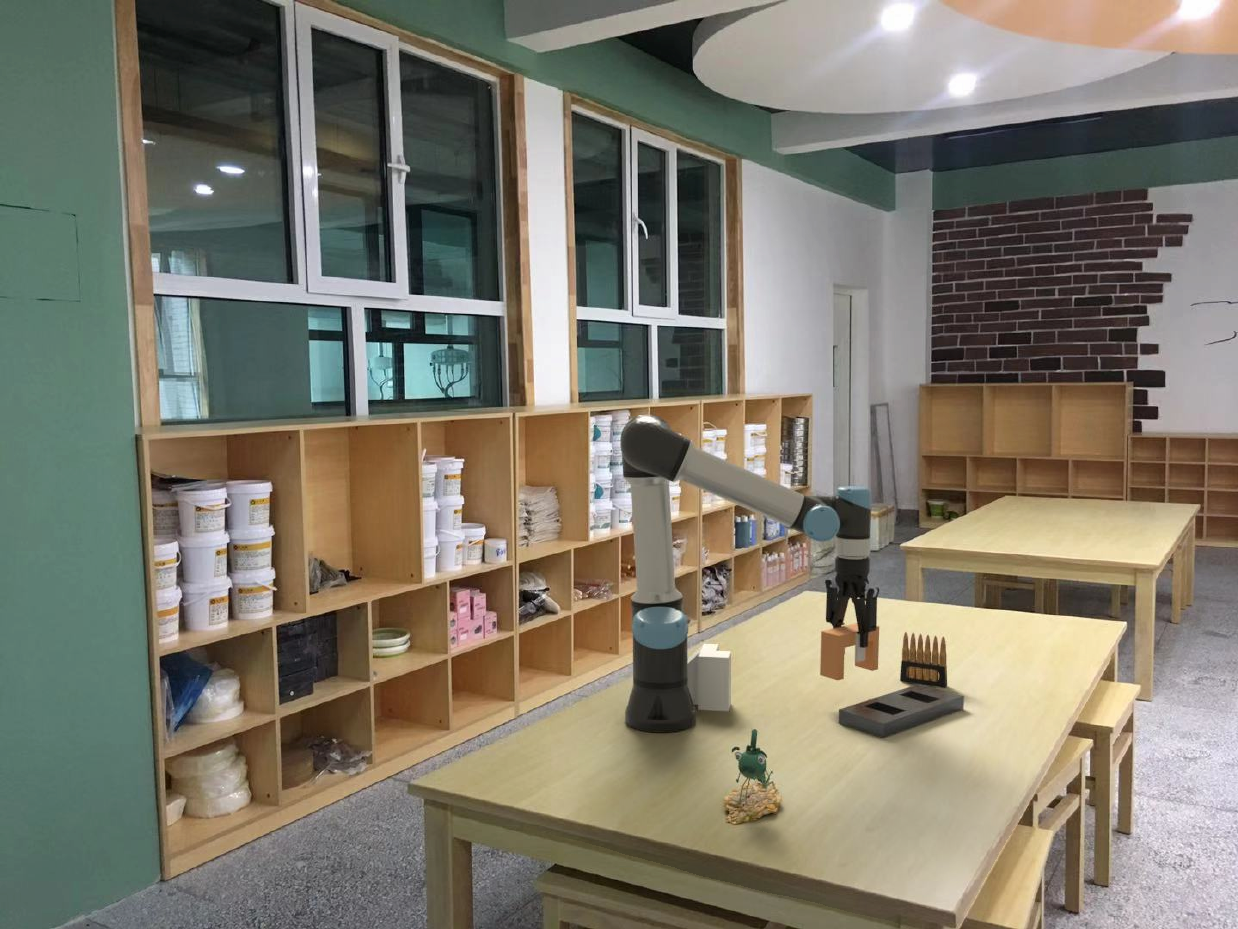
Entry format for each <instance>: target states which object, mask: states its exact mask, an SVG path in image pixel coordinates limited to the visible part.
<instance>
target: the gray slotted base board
mask: <svg viewBox="0 0 1238 929" xmlns="http://www.w3.org/2000/svg"><path fill="white" fill-rule="evenodd" d="M964 698H965V696H964V695H961V694H958V693H954V692H952V691H951V692H950V691H947V690H944V689H941V688H938V687H934V686H927V685H922V684H915V685H910V686H908V687H904V688H901V689H898V690H895V691H893V692H889V693H885V694H883V695H879V696H876V697H874V698H870V699H867V700H864V701H861V702H859V703H855V704H852V705H849V706H846V707H842V708H839V709H838V724H840V725H843V726H846V727H847V728H848V727H849V728H852V729H855V730H857V731H858V730H859V731H860V732H864V733H867V734H871V735H873V736H877V737H879V738H882V739H885V738H888V737H890V736H893V735H896V734H899V733H901V732H904V731H907V730H910V729H913V728H915V727H918V726H921V725H923V724H926V723H929V722H932V721H934V720H937V719H940V718H943V717H946V716H949V715H952V714H954V713H956V712H959V711H962V710H964V707H965V706H964V702H965V699H964Z"/></svg>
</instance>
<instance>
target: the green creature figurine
mask: <svg viewBox="0 0 1238 929" xmlns="http://www.w3.org/2000/svg"><path fill="white" fill-rule="evenodd" d="M757 740H758V730H757V729H756V728H753V729H752V730H751V738H750V744H747V745H746V747H745V751H743V752H741V751H740V750H741V749H740V748H741V747H739V746H734V747H732V749H731V753H734V757H735V760H736V761H737V763H738V766H737V767H738V770H739V774H738V776H737V778H736V779H735V782H736V783H737V784H738V783H739V780H740V776H741V775H742V777H745V780H744V782H743V783H742V785H741V786H740V785H739V787H737V788H735V789H732V791H731V792H730V793H729V794H728V795H726V796H725V797H724V798H723V800H724V802H723V804H724V805H723V810H724V811H725V812H726V811H728V812H729V814H728V815H727V817H726V818H725V823H731V824H732V825H739V824H742V823H743V822H746V823H747V822H748V823H749V822H753V821H757V820H758V819H760V818H762V817H763V816H765V815H769V814H774V813H777V811H778V808H779V805H780V804H781V802H782V801H783V797H782V795H779V794H780V792H778V791H779V788H777V786H776V782H775V781H771V775H772V774H774V771H773V770H771V771H770V772H769V773H768V772H767V758H768V755H767V754H766V752H764V751H763V750H762V749H761V747H759V746H758V747H757ZM766 775H767V776H766ZM750 780H754V781H755V782H754V783H753V784H752V785H751V784H750Z"/></svg>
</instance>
